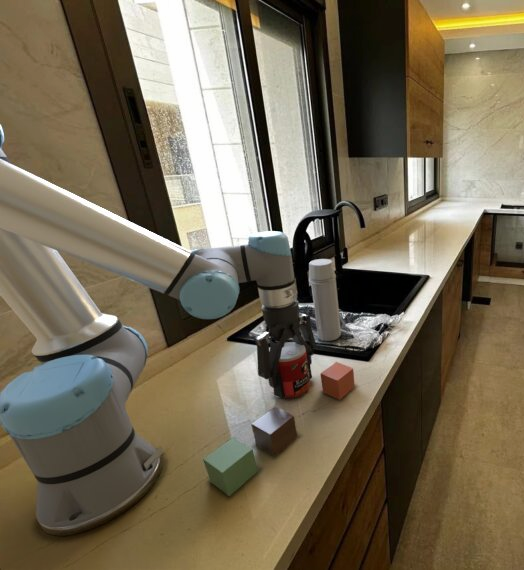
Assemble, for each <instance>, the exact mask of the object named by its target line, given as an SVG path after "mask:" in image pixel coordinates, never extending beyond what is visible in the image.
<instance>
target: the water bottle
mask: <svg viewBox="0 0 524 570" xmlns="http://www.w3.org/2000/svg"><path fill="white" fill-rule="evenodd" d="M308 271H309V272H308V274H309V276H308V277H309V278H308V283H309V284H311V293H312V294H311V295H312V301H313V309H314V317H315V318H314V319H315V327H316V331H317V337H318V339H319V340H320V341H323V342H332V341H335V340H338V339H339V338H340V337H341V335H342V329H341V318H340V310H339V300H338V298H339V297H338V289H337V288H338V287H337V279H336V278H337V275H336V273H335V269H334V263H333V260H332V259H329V258H319V259H317V258H316V259H313V260H311V261H310V262H309V263H308Z"/></svg>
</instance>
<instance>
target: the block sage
mask: <svg viewBox="0 0 524 570" xmlns="http://www.w3.org/2000/svg"><path fill="white" fill-rule="evenodd" d="M202 460H203V463H204V467H205V469H206V470H205V471H206V472H207V476H208V479H209V483H211V484H212V485H214V486H215V487H216V488H218V489H219V490H220V491H221V492H222V493H224V494H226V495H227V496H229V497H231V496H232V495H233V494H234V493H235V492H236V491H237V490H239V488H241V487H242V486H243V485H245V483H247V482H248V481H249V480H250V479H251V478H252V477H253V476H254V475H256V474H257V473H258V472H259V469H258V464H257V460H256V456H255V452H254V448H252V447H251V446H250V445H247V444H246V443H244V442H243V441H241V440H240V439H238V438H236V437H234V436H233V437H231V438H230V439H229V440H227V441H226V442H224V443H223V444H222V445H220V446H219V447H217V448H216V449H214V450H213V451H212V452H211V453H209V454H208V455H207V456H205V457H204V458H203V459H202Z"/></svg>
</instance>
